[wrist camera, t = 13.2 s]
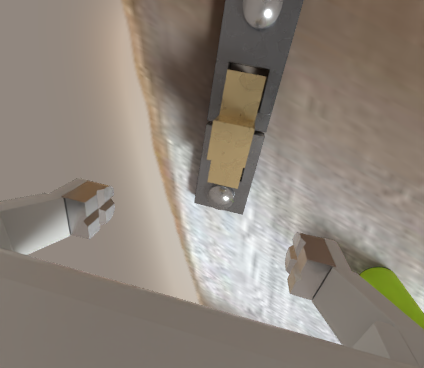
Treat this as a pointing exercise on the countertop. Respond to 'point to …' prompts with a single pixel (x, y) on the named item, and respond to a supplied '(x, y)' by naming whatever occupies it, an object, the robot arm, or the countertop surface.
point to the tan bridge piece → (234, 127)
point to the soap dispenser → (394, 292)
